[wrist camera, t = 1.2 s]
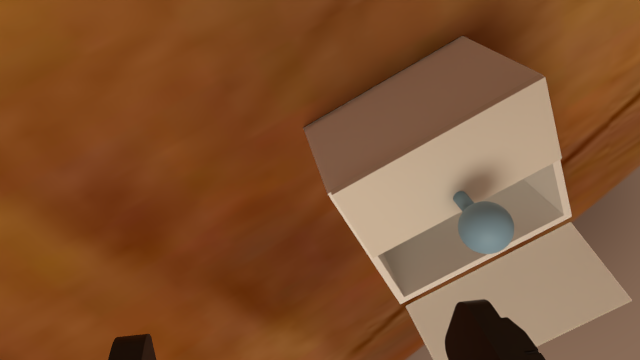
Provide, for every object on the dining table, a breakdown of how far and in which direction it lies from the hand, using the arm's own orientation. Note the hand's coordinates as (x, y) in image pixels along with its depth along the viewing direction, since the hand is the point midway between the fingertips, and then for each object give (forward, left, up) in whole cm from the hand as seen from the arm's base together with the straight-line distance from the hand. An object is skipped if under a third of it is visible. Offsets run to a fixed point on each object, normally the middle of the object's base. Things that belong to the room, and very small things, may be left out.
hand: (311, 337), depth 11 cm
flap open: (-8, +24, -13) cm, 28 cm away
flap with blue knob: (-8, +11, -16) cm, 21 cm away
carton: (-8, +15, -27) cm, 32 cm away
